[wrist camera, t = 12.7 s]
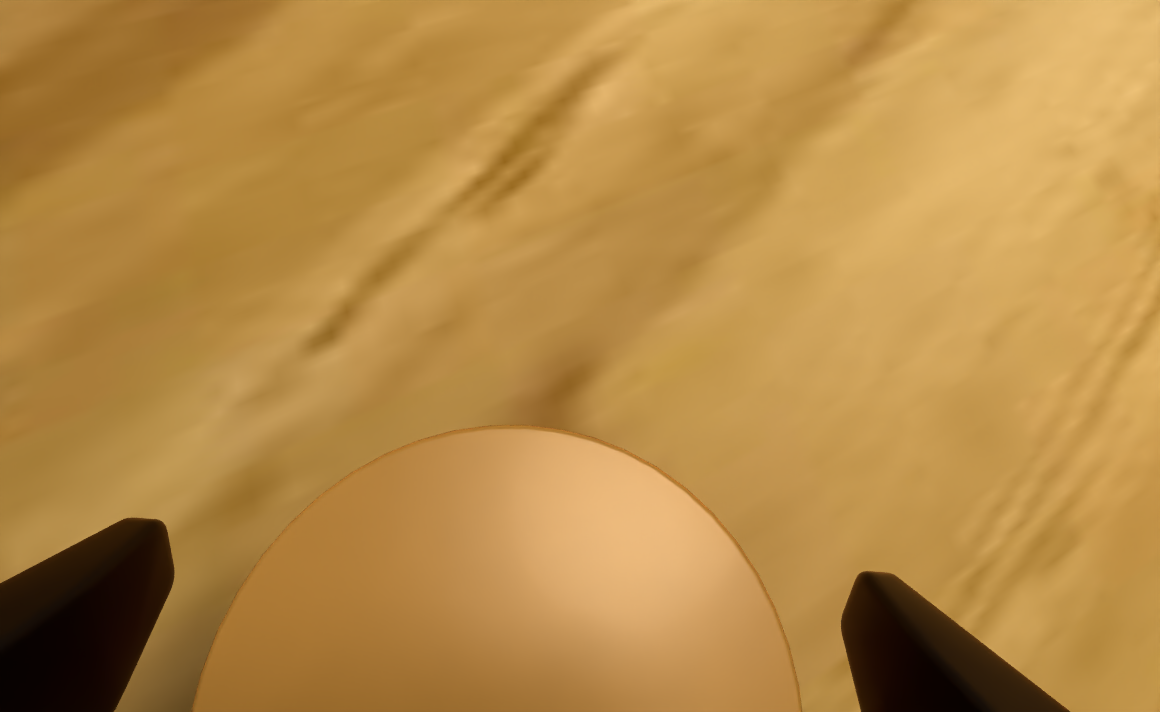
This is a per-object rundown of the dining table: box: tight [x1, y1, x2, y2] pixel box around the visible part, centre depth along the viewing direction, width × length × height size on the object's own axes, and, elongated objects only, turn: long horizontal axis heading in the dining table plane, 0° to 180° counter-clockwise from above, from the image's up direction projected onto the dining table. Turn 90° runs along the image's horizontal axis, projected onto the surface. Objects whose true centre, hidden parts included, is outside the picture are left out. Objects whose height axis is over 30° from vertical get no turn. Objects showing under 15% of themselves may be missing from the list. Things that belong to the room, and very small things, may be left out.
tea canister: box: [191, 425, 802, 712], centre depth 10 cm, size 6×6×9 cm
